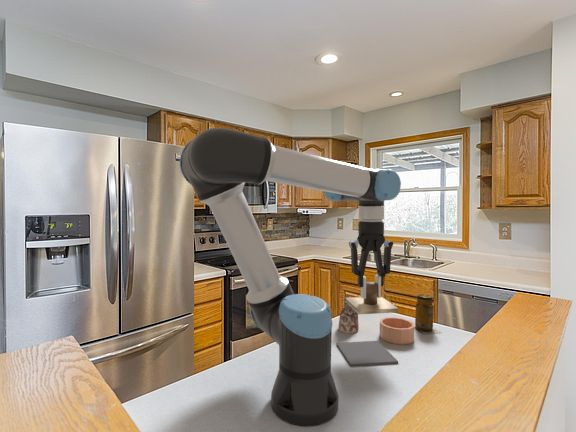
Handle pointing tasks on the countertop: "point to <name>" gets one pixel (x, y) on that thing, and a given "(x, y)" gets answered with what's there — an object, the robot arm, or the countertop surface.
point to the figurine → (348, 319)
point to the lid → (371, 302)
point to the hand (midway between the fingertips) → (370, 296)
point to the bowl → (397, 330)
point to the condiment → (424, 315)
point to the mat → (366, 353)
